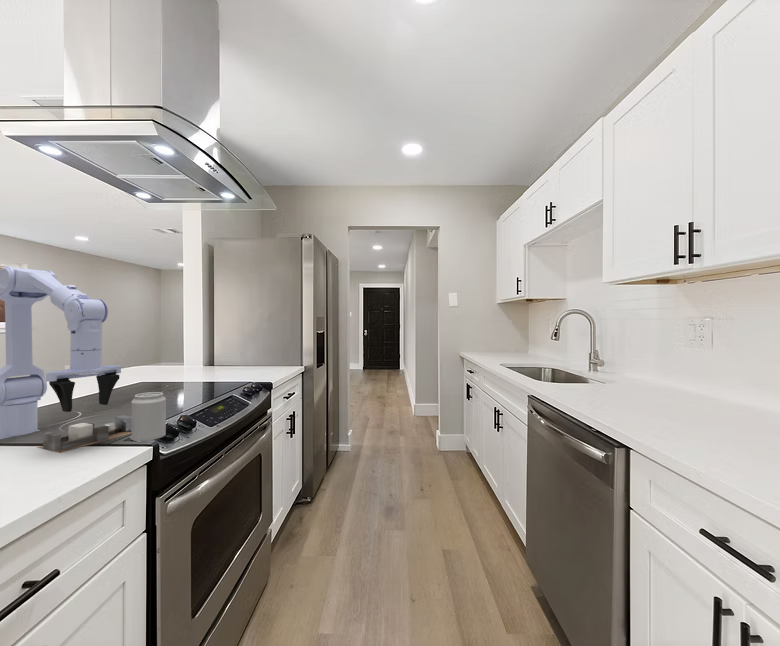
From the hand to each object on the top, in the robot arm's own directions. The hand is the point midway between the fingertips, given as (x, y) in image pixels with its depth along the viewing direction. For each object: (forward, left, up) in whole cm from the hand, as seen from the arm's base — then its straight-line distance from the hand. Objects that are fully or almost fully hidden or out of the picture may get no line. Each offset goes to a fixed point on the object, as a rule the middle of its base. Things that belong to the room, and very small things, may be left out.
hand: (86, 407), depth 87 cm
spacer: (-5, +2, -9) cm, 11 cm away
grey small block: (-5, +9, -9) cm, 14 cm away
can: (+6, +11, -10) cm, 16 cm away
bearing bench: (-5, +3, -10) cm, 12 cm away
